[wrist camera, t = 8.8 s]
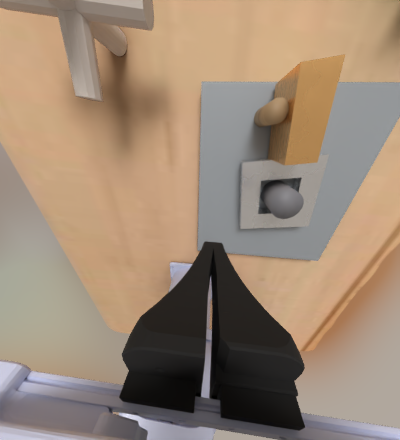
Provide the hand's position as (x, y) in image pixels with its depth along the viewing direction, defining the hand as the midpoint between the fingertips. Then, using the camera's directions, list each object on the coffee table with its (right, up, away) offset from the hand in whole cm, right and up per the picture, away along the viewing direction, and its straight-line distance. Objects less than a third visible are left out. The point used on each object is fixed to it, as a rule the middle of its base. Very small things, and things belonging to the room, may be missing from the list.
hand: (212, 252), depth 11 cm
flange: (+8, +8, +5) cm, 12 cm away
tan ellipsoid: (+5, +12, +3) cm, 14 cm away
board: (+8, +6, +8) cm, 13 cm away
